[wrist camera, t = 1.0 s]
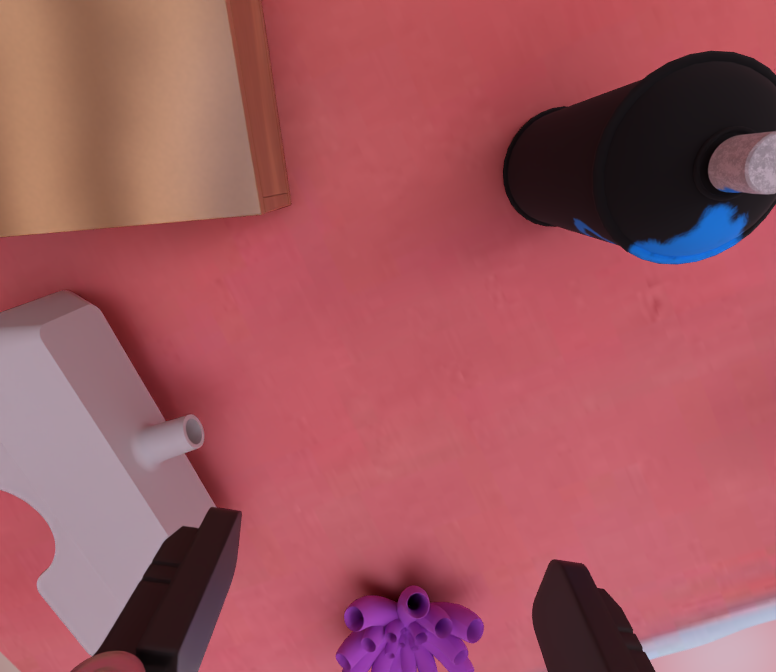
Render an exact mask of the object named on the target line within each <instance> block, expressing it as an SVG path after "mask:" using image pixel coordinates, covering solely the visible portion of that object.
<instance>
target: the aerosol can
mask: <svg viewBox="0 0 776 672" xmlns="http://www.w3.org/2000/svg"><path fill="white" fill-rule="evenodd" d="M503 179H504V186H505V190H506V194H507V196H508V198H509V200H510V202H511V204H512V205H513V207H514V208H515V209H516V211H517V212H518V213H519V214H521V215H522V216H523V217H524V218H526V219H527V220H529V221H531V222H533V223H535V224H539V225H543V226H554V227H556V226H558V227H561V228H564V229H567V230H571V231H574V232H577V233H580V234H584V235H587V236H590V237H593V238H597V239H600V240H603V241H606V242H610V243H613V244H616V245H619V246H621V247H622V248H623V249H624V250H626V251H627V252H629V253H631V254H633V255H635V256H637V257H639V258H641V259H643V260H647V261H651V262H655V263H658V264H683V263H690V262H697V261H700V260H703V259H706V258H709V257H712V256H715V255H717V254H719V253H721V252H723V251H725V250H727V249H729V248H730V247H732V246H734V245H735V244H737V243H738V242H739V241H741V240H742V239H743V238H745V237H746V236H747V235H749V234H750V233H751V232H752V231H753V230H754V229H755V228H756V227H757V226H758V225H759V224H760V223H761V222H762V221H763V220H764V219H765V218H766V217H767V215H768V214H769V213H770V211H771V210H772V208H773V207H774V206H775V204H776V75H775V74H774V73H773V72H772V71H771V70H770V68H768V67H766V66H765V65H763V64H762V63H760V62H758V61H757V60H755V59H754V58H751V57H748V56H745V55H741V54H738V53H735V52H723V51H707V52H701V53H695V54H689V55H687V56H684V57H681V58H679V59H676V60H674V61H671V62H668V63H667V64H665V65H663V66H662V67H660V68H658V69H657V70H655V71H654V72H652V73H650V74H649V75H647V76H646V77H645V78H644V79H642V80H640V81H637V82H634V83H632V84H629V85H626V86H623V87H621V88H618V89H615V90H613V91H610V92H607V93H604V94H602V95H599V96H596V97H593V98H591V99H588V100H585V101H583V102H580V103H577V104H574V105H572V106H569V107H566V106H563V107H557V108H552V109H549V110H547V111H544V112H541V113H540V114H538V115H536V116H535V117H533V118H532V119H530V120H529V121H528V122H527V123H526V124H525V125H524V126H523V127H521V129H520V130H519V131H518V133H517V134H516V135H515V137H514V138H513V140H512V142H511V144H510V146H509V148H508V151H507V154H506V157H505V160H504V168H503Z"/></svg>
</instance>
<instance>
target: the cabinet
mask: <svg viewBox="0 0 776 672" xmlns="http://www.w3.org/2000/svg"><path fill="white" fill-rule="evenodd" d="M289 205H291V199H290V192H289V185H288V178H287V171H286V165H285V158H284V151H283V144H282V138H281V131H280V124H279V117H278V110H277V104H276V97H275V90H274V83H273V77H272V70H271V63H270V56H269V50H268V43H267V36H266V29H265V22H264V16H263V9H262V2H261V0H0V237H10V236H21V235H33V234H44V233H56V232H68V231H79V230H91V229H102V228H114V227H126V226H137V225H149V224H160V223H172V222H184V221H195V220H207V219H218V218H230V217H242V216H253V215H262V214H265V213H268V212H271V211H274V210H277V209H280V208H283V207H286V206H289Z"/></svg>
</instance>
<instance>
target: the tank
mask: <svg viewBox="0 0 776 672" xmlns="http://www.w3.org/2000/svg"><path fill="white" fill-rule="evenodd" d="M203 442H204V430H203V426H202V424H201V422H200V420H199V419H198V418H197V417H196V416H194V415H191V414H190V415H186V416H183V417H179V418H176V419H173V420H169V421H165V419H164V417H163V416H162V414H161V412H160V410H159V409H158V407H157V405H156V404H155V402H154V400H153V399H152V397H151V395H150V393H149V392H148V390H147V388H146V387H145V385H144V383H143V382H142V380H141V378H140V376H139V375H138V373H137V371H136V370H135V368H134V366H133V364H132V363H131V361H130V359H129V358H128V356H127V354H126V353H125V351H124V349H123V347H122V346H121V344H120V342H119V341H118V339H117V337H116V336H115V334H114V332H113V330H112V329H111V327H110V325H109V324H108V322H107V320H106V319H105V317H104V315H103V313H102V312H101V310H100V309H99V308H98V307H96V306H95V305H93V304H91V303H90V302H88V301H86V300H85V299H83V298H81V297H80V296H78V295H77V294H75V293H73V292H71V291H68V290H62V291H59V292H56V293H53V294H50V295H48V296H45V297H42V298H39V299H36V300H34V301H31V302H28V303H25V304H23V305H20V306H17V307H14V308H11V309H9V310H6V311H3V312H0V490H3V491H5V492H8V493H10V494H13V495H15V496H17V497H18V498H20V499H22V500H24V501H25V502H27V503H28V504H29V505H31V506H32V507H33V508H34V509H35V510H37V511H38V512H39V513H40V514H41V516H42V517H43V518H44V519H45V521H46V522H47V523H48V525H49V527H50V529H51V531H52V533H53V536H54V539H55V546H56V550H55V556H54V559H53V562H52V564H51V565H50V567H49V568H48V569H46V570H45V571H44V572H43V573H42V574H41V575H40V577H39V578H38V581H37V589H38V591H39V593H40V595H41V596H42V597H43V598H44V600H45V601H46V602H47V603H48V604H49V606H50V607H51V608H52V609H53V611H54V612H55V613H56V614H57V616H58V617H59V618H60V619H61V621H62V622H63V623H64V624H65V625H66V627H67V628H68V629H69V630H70V632H71V633H72V634H73V635H74V637H75V638H76V639H77V640H78V642H79V643H80V644H81V645H82V647H83V648H84V649H85V650H86V651H87V653H88V654H89V655H91V656H93V655H94V654H95V653H96V652H97V650H98V649H99V648H100V646H101V645H102V643H103V642H104V640H105V638H106V637H107V635H108V633H109V632H110V630H111V628H112V627H113V625H114V623H115V622H116V620H117V618H118V617H119V615H120V613H121V612H122V610H123V608H124V607H125V605H126V603H127V602H128V600H129V598H130V597H131V595H132V593H133V592H134V590H135V588H136V587H137V585H138V583H139V582H140V581H141V580H142V578H143V575H144V573H145V572H146V570H147V568H148V567H149V565H150V564H151V563H152V560H153V558H154V557H155V555H156V553H157V552H158V550H159V548H160V547H161V545H162V543H163V542H164V541H165V540H166V539H167V538H168V537H170V536H171V535H172V534H173V533H174V532H176V531H177V530H178V529H179V528H181V527H182V526H188V527H195V528H199V527H200V525H201V523H202V521H203V519H204V517H205V515H206V514H207V512H208V510H209V509H210V507H216V506H215V504H214V502H213V501H212V499H211V497H210V496H209V494H208V492H207V490H206V489H205V487H204V485H203V484H202V482H201V480H200V479H199V477H198V475H197V473H196V472H195V470H194V468H193V467H192V465H191V463H190V461H189V460H188V458H187V456H186V455H185V453H187V452H189V451H192V450H195V449H198V448H200V447H201V446H202V445H203Z"/></svg>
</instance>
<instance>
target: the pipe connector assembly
mask: <svg viewBox="0 0 776 672" xmlns="http://www.w3.org/2000/svg"><path fill="white" fill-rule="evenodd" d="M408 605H410V607H408ZM344 619H345V623H346V625H347V627H348V628H349V629H350V630H352V631H353V632H352V633H351V634H350V635H349V636H348V637H347V638H346V639H345V640H344V642H343V643H342V645H341V646H340V647H339V649H338V651H337V653H336V659H337V661H338V663H339V664H340V665H341V666H342V667H343V670H342V672H368V670H369V669H370V668H371V666H372V670H371V672H417V668H418V671H419V672H438V671H437V667H436V663H435V660H434V657H433V655H434V656H435V657H436V658H437V659H438V660H439V661H440V662H441V663H442V664H443V665H444V667H445V668H446V669H447V670H448V671H449V672H474V667H473V665H472V663H471V661H470V660H469V658H468V649H467V647H466V646H465V644H464V642H463V641H462V640H461V639H463V640H464V641H467V642H469V643H476V642H477V641H478V640H479V639H480V638H481V636H482V634H483V630H484V625H483V622H482V620H481V619H480V618H479V617H478V616H477V615H476V614H475V613H474V612H472V611H471V610H470V609H468V608H466V607H464V606H461V605H459V604H454V603H448V602H433V603H430V602H429V598H428V595H427V593H426V592H425V590H423V589H422V588H421V587H418V586H409V587H407V588H406V589H405V590H404V591H403V592H402V593H401V595H400V597H399V600H398V603H397V602H394V601H392V600H390V599H387V598H384V597H381V596H364V597H361V598H359V599H356V600H355V601H354V602H352V603H351V604H350V605H349V606H348V608H347V609H346V611H345V615H344Z"/></svg>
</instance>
